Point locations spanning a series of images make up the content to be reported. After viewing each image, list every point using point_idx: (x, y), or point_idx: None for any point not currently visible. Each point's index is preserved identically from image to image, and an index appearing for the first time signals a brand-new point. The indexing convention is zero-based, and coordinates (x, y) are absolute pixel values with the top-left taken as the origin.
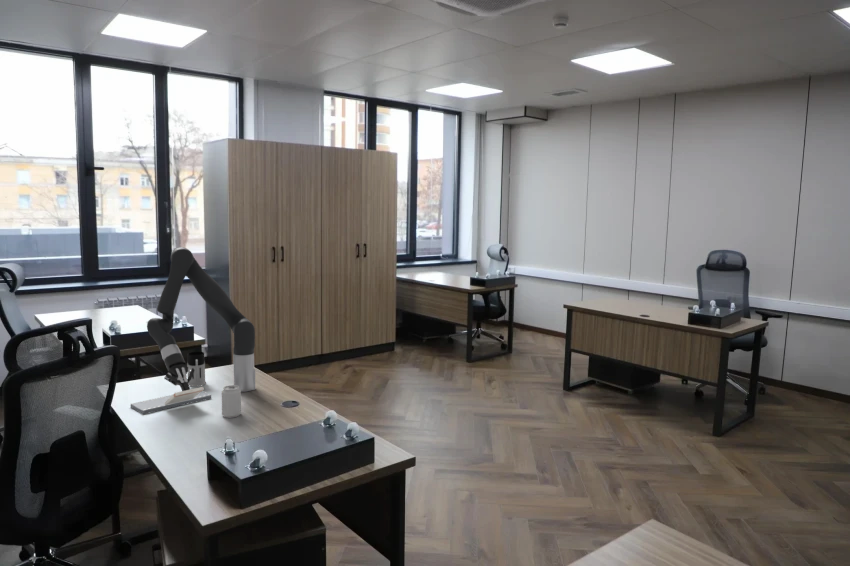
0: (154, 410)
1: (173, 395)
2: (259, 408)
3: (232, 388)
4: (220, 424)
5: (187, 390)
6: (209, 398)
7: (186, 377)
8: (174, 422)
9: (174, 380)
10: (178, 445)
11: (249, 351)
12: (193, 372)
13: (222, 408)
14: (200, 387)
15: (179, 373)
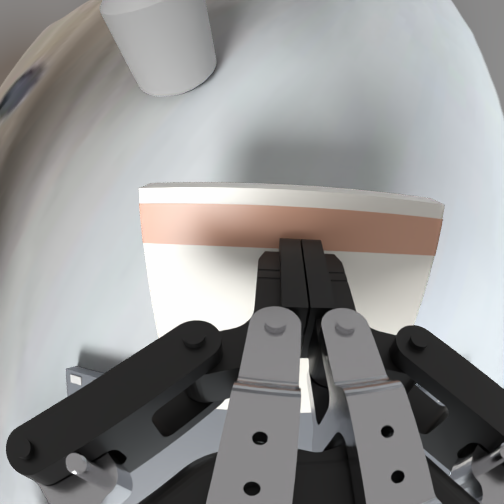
0: (419, 388)
1: (430, 253)
2: (71, 91)
3: (105, 14)
4: (271, 34)
5: (326, 190)
6: (85, 368)
7: (238, 380)
8: (410, 158)
9: (458, 359)
10: (428, 29)
11: None
12: (51, 413)
13: (209, 46)
14: (168, 187)
15: (381, 476)
